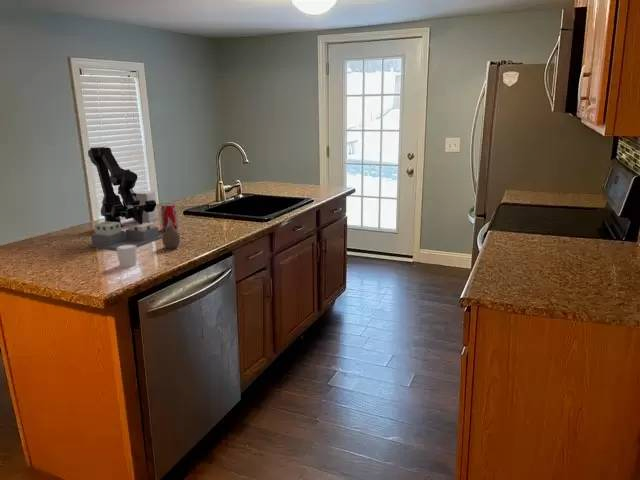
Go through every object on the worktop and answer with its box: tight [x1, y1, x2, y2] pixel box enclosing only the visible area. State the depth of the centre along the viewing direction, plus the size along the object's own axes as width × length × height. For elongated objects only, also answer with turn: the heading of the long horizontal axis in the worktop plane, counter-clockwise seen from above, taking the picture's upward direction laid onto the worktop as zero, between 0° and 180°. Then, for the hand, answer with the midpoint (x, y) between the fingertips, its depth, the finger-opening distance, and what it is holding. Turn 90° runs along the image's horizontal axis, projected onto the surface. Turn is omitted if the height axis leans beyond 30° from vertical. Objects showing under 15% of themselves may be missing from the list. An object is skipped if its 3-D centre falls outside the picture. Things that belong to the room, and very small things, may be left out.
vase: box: [161, 226, 181, 250], centre depth 201 cm, size 7×7×9 cm
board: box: [87, 226, 163, 251], centre depth 211 cm, size 20×23×5 cm
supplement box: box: [132, 190, 158, 223], centre depth 250 cm, size 9×9×15 cm
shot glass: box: [116, 245, 138, 268], centre depth 179 cm, size 7×7×7 cm
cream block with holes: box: [128, 222, 155, 231], centre depth 214 cm, size 7×7×6 cm
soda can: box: [160, 202, 179, 231], centre depth 232 cm, size 7×7×12 cm
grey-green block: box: [94, 221, 122, 236], centre depth 206 cm, size 7×7×6 cm
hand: (141, 223), depth 213 cm, fingers closed, pressing on cream block with holes
